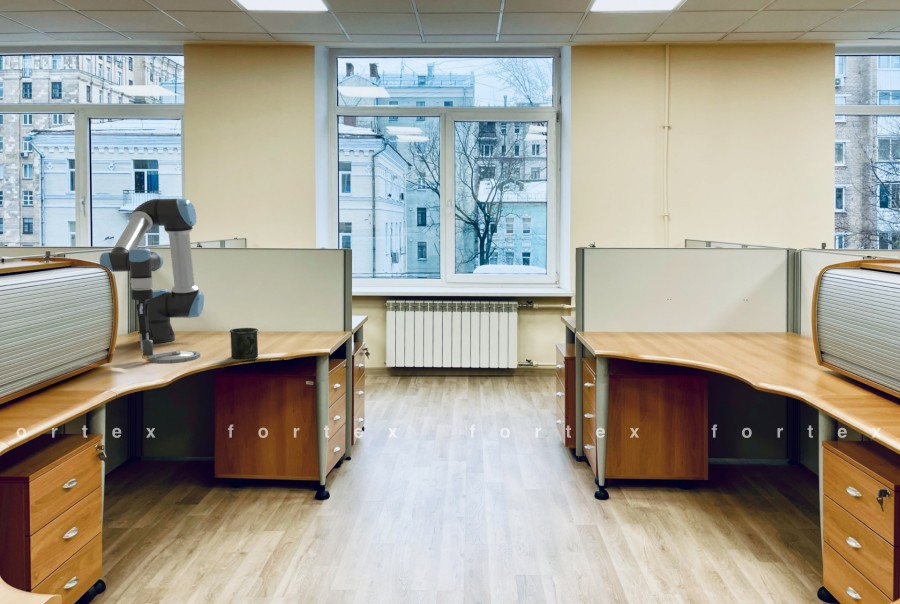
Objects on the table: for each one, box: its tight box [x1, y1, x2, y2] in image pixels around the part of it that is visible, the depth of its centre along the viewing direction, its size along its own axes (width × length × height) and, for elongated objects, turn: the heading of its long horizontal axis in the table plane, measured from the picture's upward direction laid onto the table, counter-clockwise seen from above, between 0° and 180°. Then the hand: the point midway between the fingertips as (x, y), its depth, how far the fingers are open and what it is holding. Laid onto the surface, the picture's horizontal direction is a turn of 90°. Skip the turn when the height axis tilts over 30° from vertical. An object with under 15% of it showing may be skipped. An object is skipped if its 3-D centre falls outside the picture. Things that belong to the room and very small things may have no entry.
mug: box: [228, 327, 259, 363], centre depth 278 cm, size 11×15×12 cm
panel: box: [140, 350, 201, 364], centre depth 278 cm, size 26×26×2 cm
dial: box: [141, 340, 194, 360], centre depth 275 cm, size 20×14×8 cm
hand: (145, 349), depth 274 cm, fingers closed
